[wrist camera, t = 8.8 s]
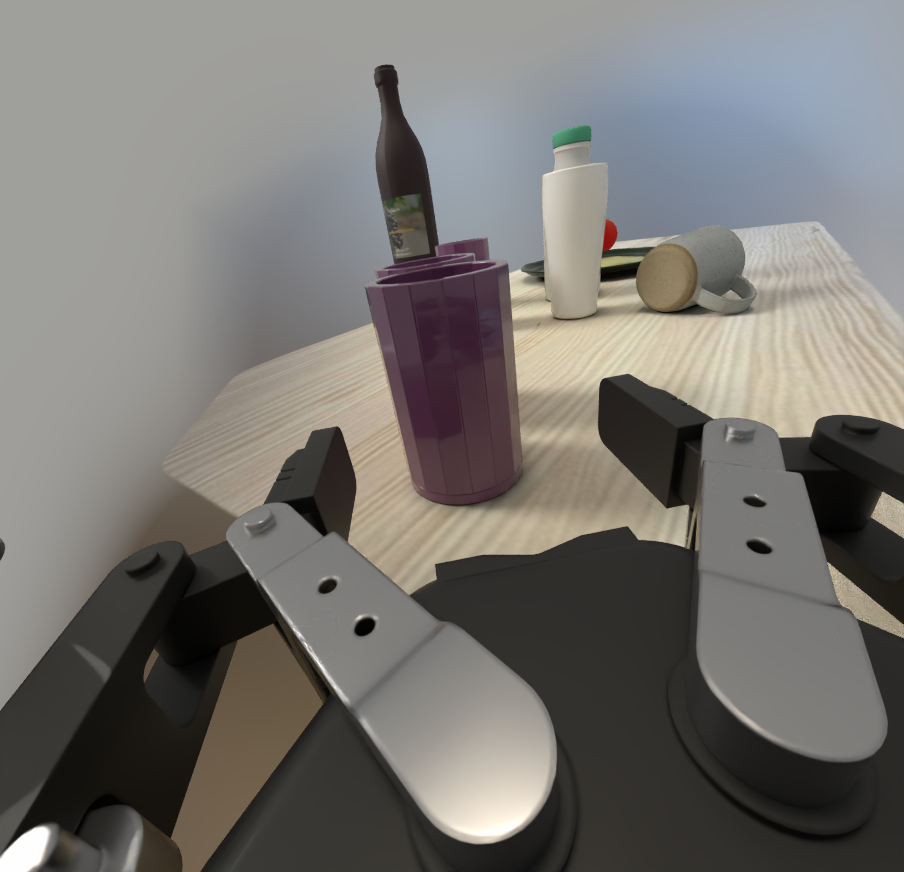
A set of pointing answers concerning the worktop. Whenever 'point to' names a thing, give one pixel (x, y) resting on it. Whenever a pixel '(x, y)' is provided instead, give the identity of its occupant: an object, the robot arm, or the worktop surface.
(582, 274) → the drinking glass
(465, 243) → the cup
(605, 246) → the tomato
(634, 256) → the plate
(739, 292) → the ceramic mug
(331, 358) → the worktop surface
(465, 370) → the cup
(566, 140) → the milk bottle
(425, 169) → the wine bottle
